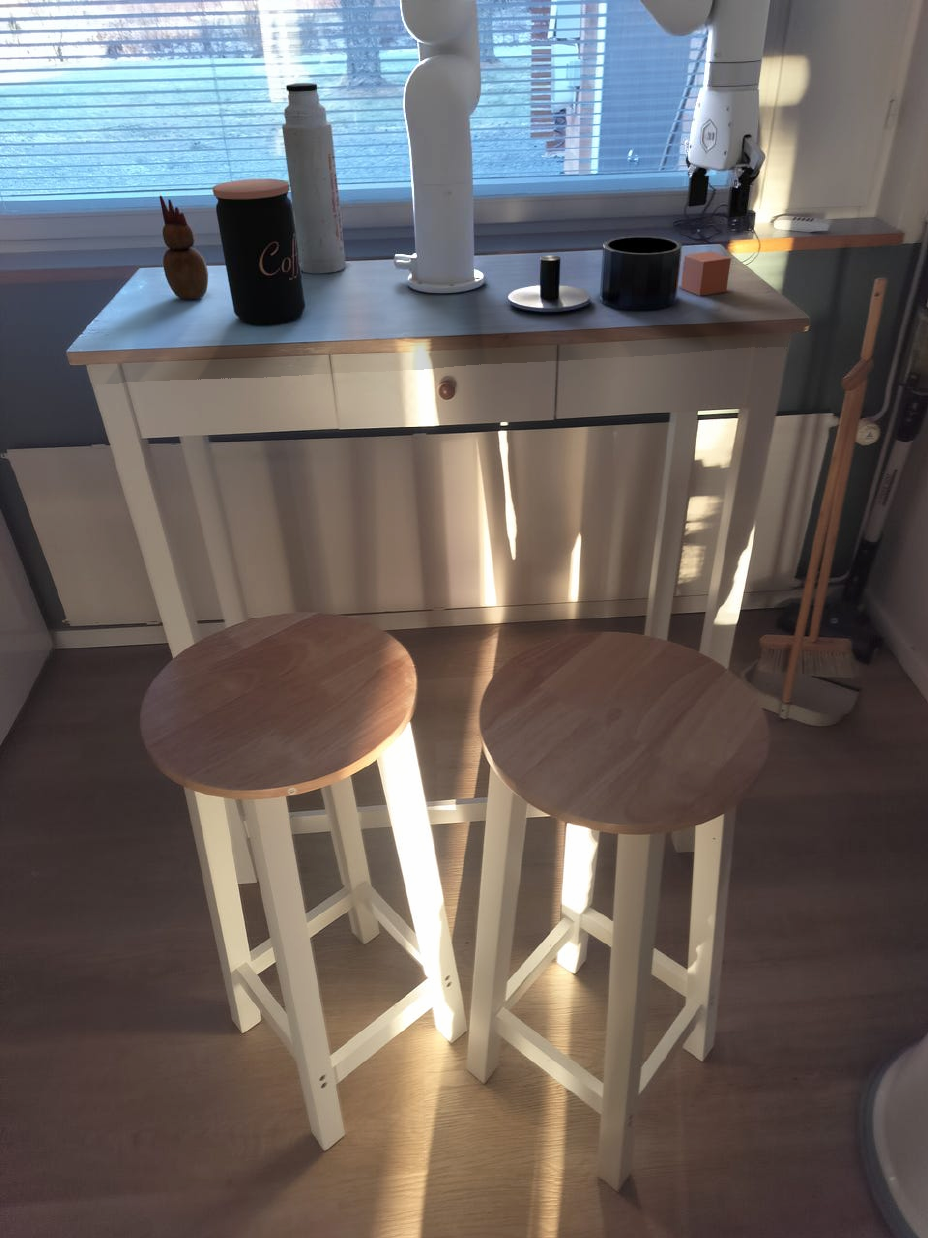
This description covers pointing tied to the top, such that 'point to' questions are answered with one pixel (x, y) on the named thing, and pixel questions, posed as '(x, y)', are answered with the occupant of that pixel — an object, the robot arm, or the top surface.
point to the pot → (640, 273)
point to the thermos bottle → (313, 181)
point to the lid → (549, 291)
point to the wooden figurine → (182, 256)
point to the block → (705, 273)
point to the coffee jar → (260, 250)
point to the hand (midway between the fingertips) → (715, 210)
